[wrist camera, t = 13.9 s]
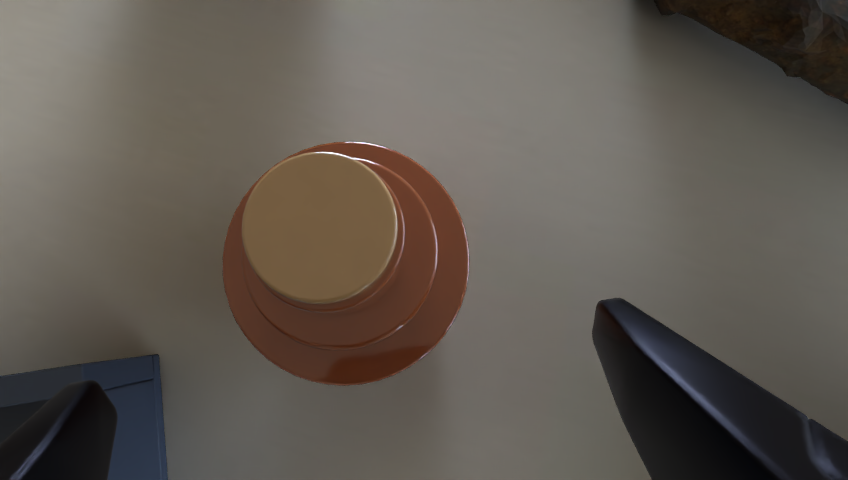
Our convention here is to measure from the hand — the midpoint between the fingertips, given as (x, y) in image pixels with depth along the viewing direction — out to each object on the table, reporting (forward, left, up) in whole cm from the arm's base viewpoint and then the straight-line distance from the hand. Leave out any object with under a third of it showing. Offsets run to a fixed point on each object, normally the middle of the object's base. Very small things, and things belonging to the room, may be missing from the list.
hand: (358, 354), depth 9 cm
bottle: (+2, 0, -9) cm, 10 cm away
